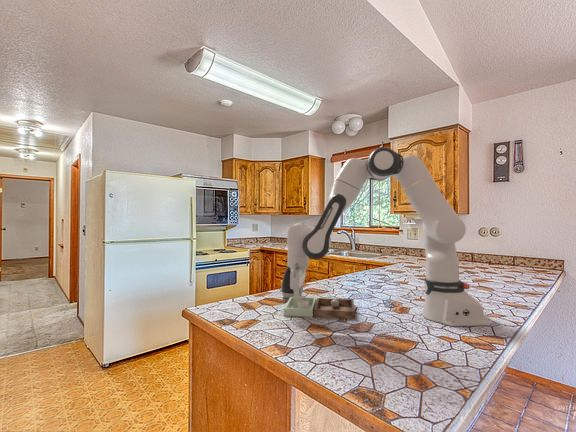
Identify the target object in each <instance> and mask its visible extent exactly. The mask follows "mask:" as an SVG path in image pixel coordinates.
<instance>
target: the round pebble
mask: <svg viewBox="0 0 576 432" xmlns="http://www.w3.org/2000/svg"><path fill="white" fill-rule="evenodd" d="M337 299H338V298H333V300H332V301H331V306H332V307H334V308H336V307H338V306H339V301H338V300H337Z"/></svg>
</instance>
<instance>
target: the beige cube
mask: <svg viewBox="0 0 576 432" xmlns="http://www.w3.org/2000/svg"><path fill="white" fill-rule="evenodd" d="M304 297H305V296H304V295H301V296H299V298H298V299H295V298H294V297H293V308H298V302H299V300H304Z"/></svg>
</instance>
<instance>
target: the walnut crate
mask: <svg viewBox="0 0 576 432" xmlns="http://www.w3.org/2000/svg"><path fill="white" fill-rule="evenodd" d="M333 299H334V298H329V297H328V298H327V297H316V304H315V308H314V314H313V317H314V318H326V319H342V320H343V319H346V320H347V319H348V320H356V311H355V310H356V309H355V303H354V302H355V301H354V299H353V298H336V299H337V300H338V301H339V306H338V307H336V308H334V307H332V306H331V301H332V300H333Z"/></svg>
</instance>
